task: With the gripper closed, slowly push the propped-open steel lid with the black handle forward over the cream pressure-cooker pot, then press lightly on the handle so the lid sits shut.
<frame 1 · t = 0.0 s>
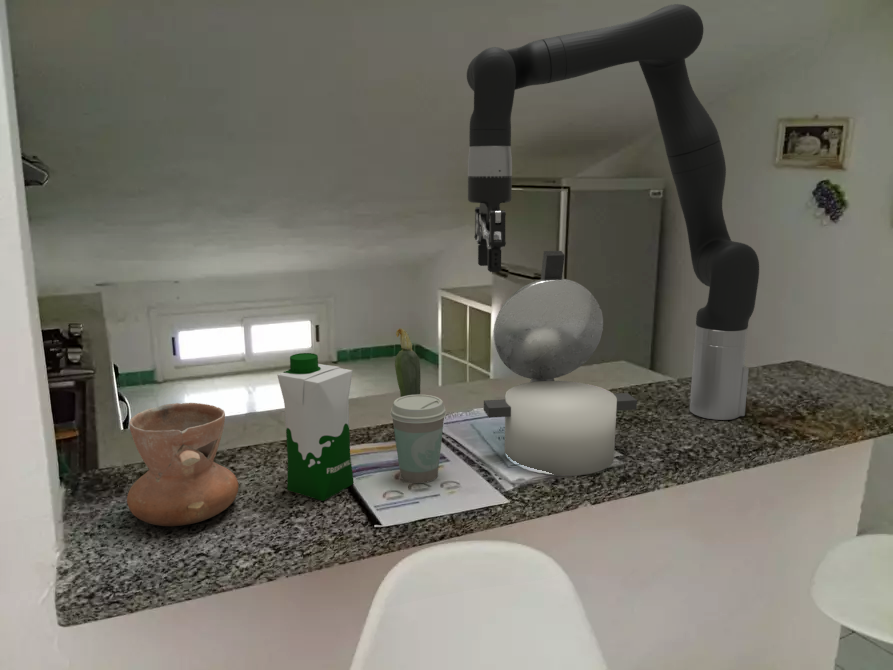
hand: (489, 268, 127), 29 cm above the countertop, fingers open, 8 cm apart
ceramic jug: (185, 511, 101), on the countertop
milk carton: (321, 488, 108), on the countertop
vegetable: (408, 439, 127), on the countertop
cooker pot: (558, 453, 120), on the countertop
cooker lid: (547, 323, 124), point 20 cm above the countertop, hinge at 75.0°
coffee cup: (419, 476, 112), on the countertop
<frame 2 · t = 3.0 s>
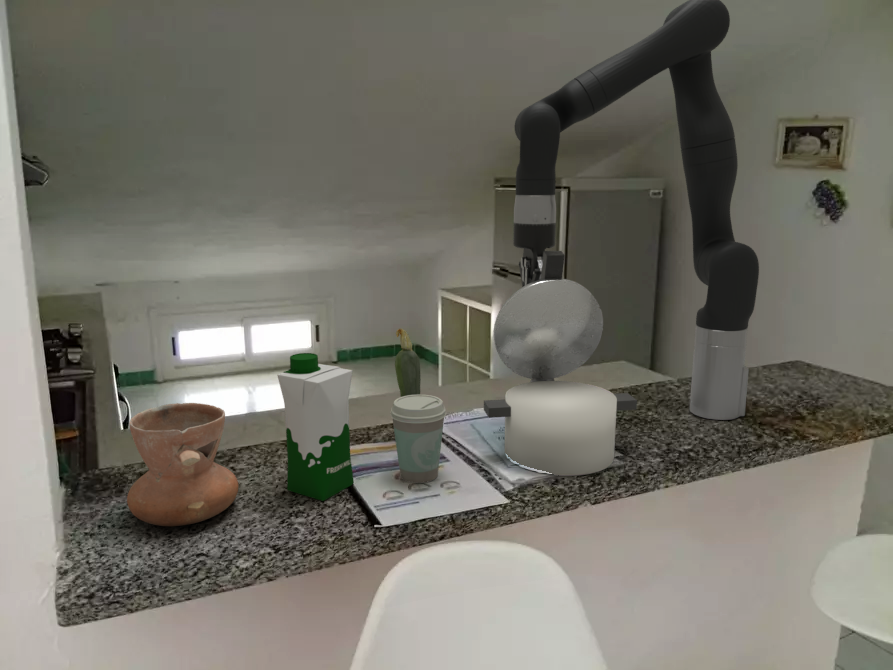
hand: (532, 315, 133), 20 cm above the countertop, fingers closed
nothing on the countertop moved.
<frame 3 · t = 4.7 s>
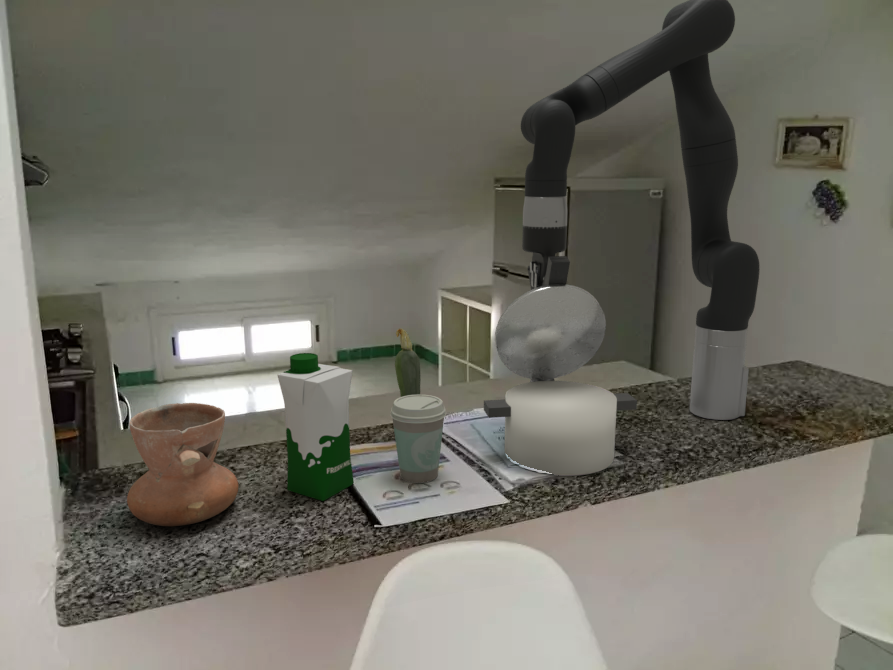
hand: (542, 322, 127), 20 cm above the countertop, fingers closed
cooker lid: (549, 326, 122), point 20 cm above the countertop, hinge at 67.7°, touching hand
everything else where it was.
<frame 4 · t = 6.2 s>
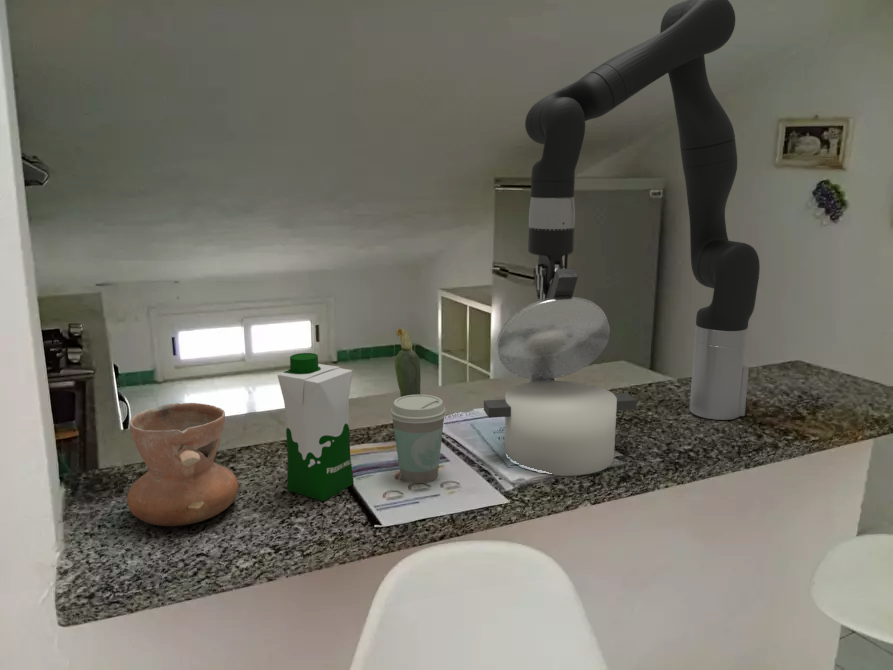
hand: (548, 326, 123), 20 cm above the countertop, fingers closed
cooker lid: (553, 332, 121), point 20 cm above the countertop, hinge at 56.7°, touching gripper
everything else where it was.
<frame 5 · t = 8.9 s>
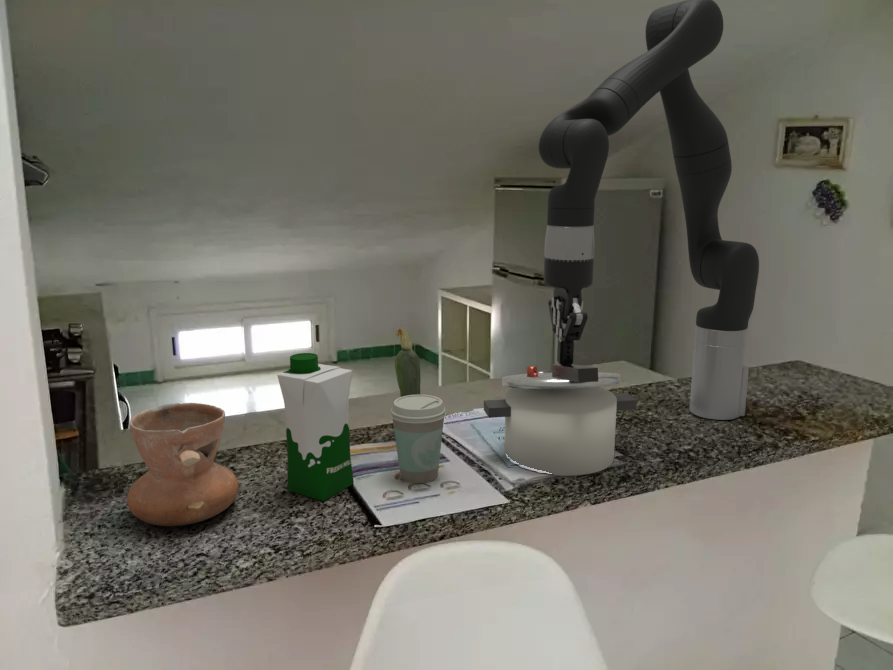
hand: (564, 363, 114), 16 cm above the countertop, fingers closed
cooker lid: (561, 374, 117), point 14 cm above the countertop, hinge at 12.3°, touching gripper
everything else where it was.
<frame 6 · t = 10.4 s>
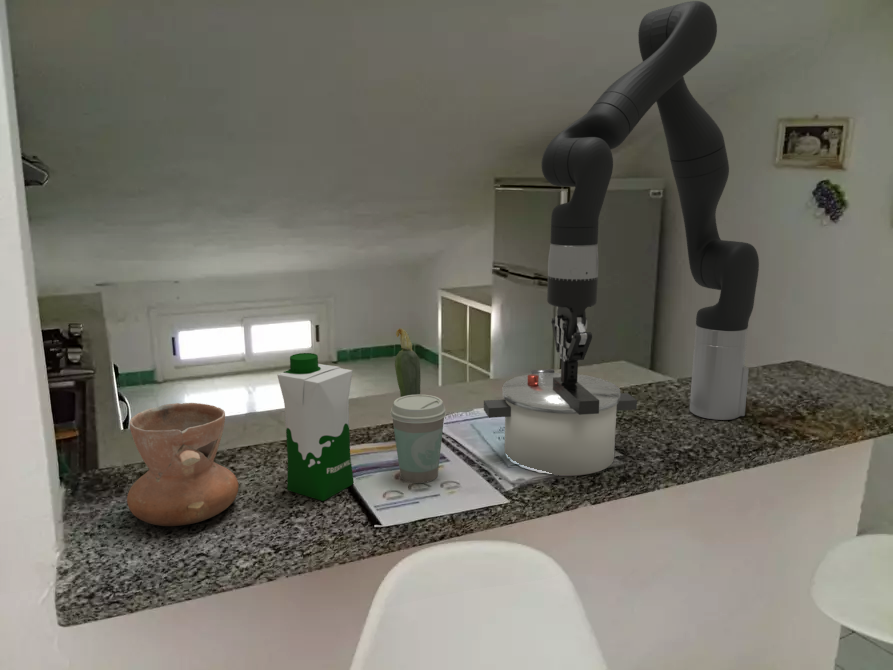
hand: (568, 383, 113), 13 cm above the countertop, fingers closed
cooker lid: (562, 388, 117), point 12 cm above the countertop, hinge at 0.6°, touching gripper
everything else where it was.
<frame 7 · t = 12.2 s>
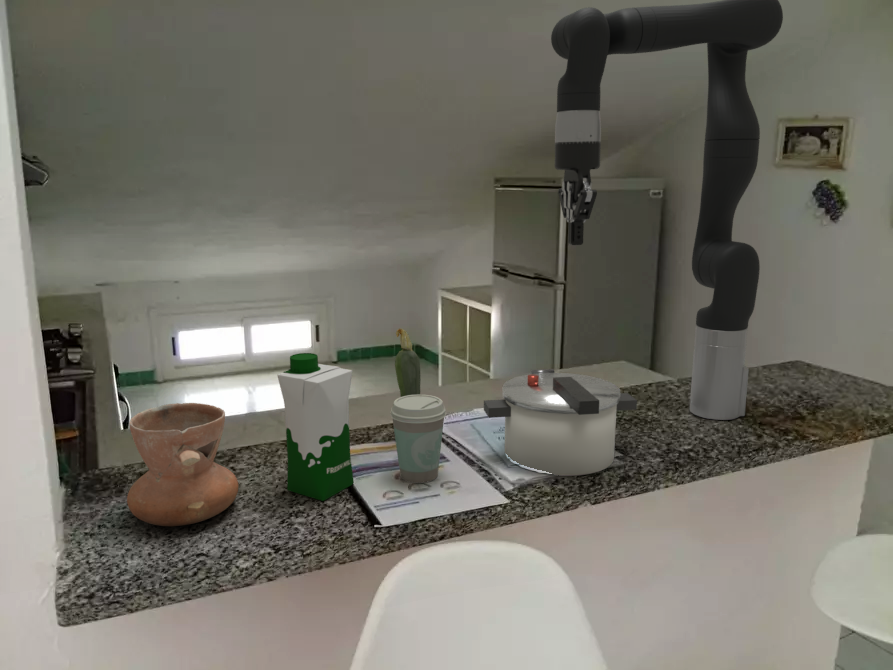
hand: (575, 244, 124), 34 cm above the countertop, fingers closed
cooker lid: (562, 388, 117), point 12 cm above the countertop, hinge at 0.6°
everything else where it was.
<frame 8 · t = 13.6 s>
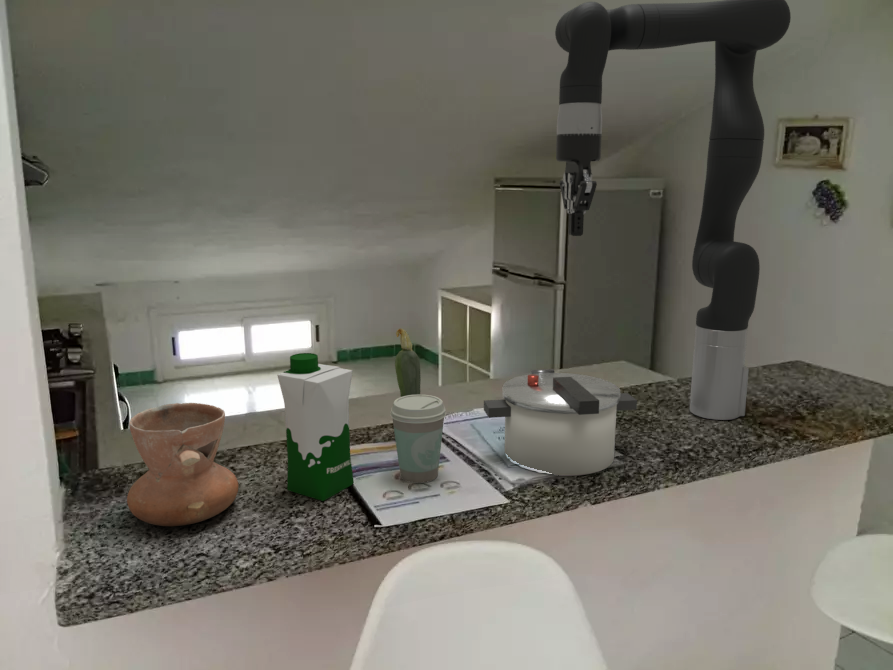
hand: (575, 235, 126), 35 cm above the countertop, fingers closed
nothing on the countertop moved.
at the end: cooker lid at +1° (first picture: +75°) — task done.
